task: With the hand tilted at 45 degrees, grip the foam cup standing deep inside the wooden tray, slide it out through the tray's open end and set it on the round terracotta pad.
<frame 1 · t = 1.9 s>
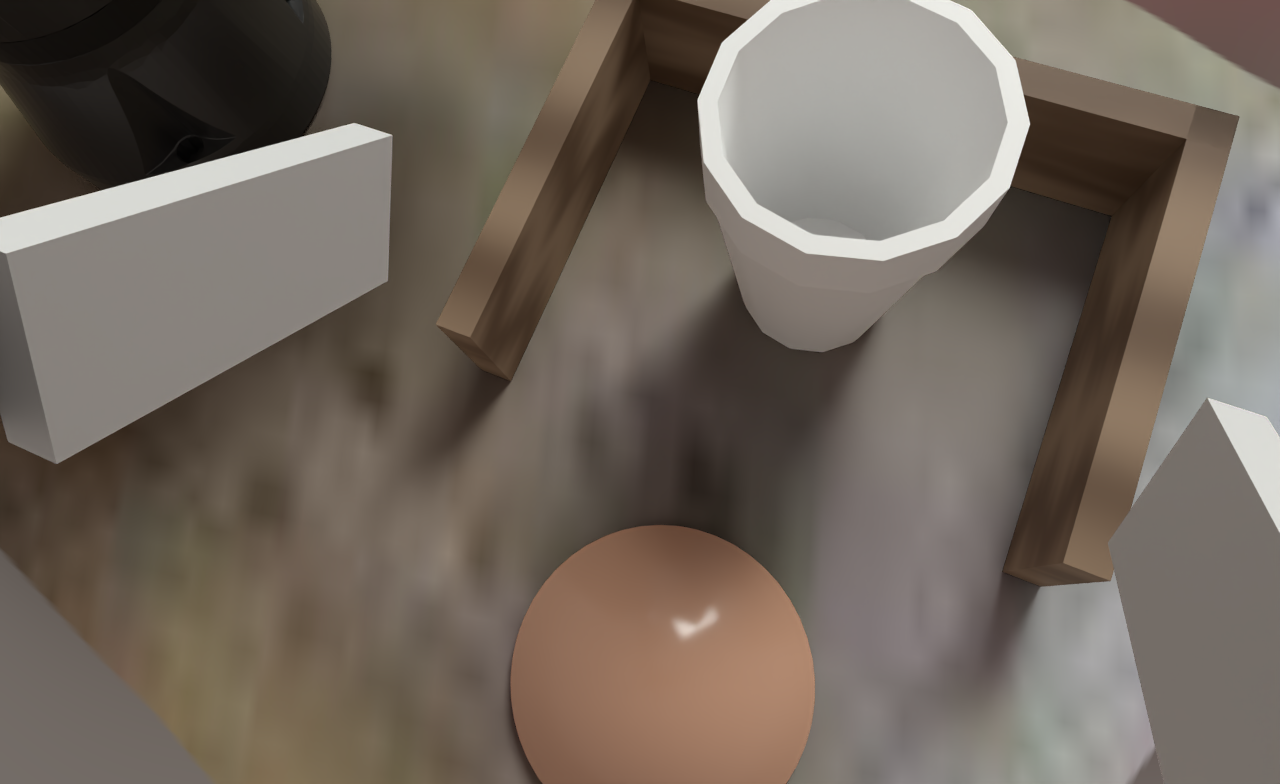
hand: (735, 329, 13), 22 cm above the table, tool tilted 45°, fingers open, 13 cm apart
foam cup: (812, 286, 36), on the table
wooden tray: (813, 284, 36), on the table
terracotta pad: (661, 677, 32), on the table
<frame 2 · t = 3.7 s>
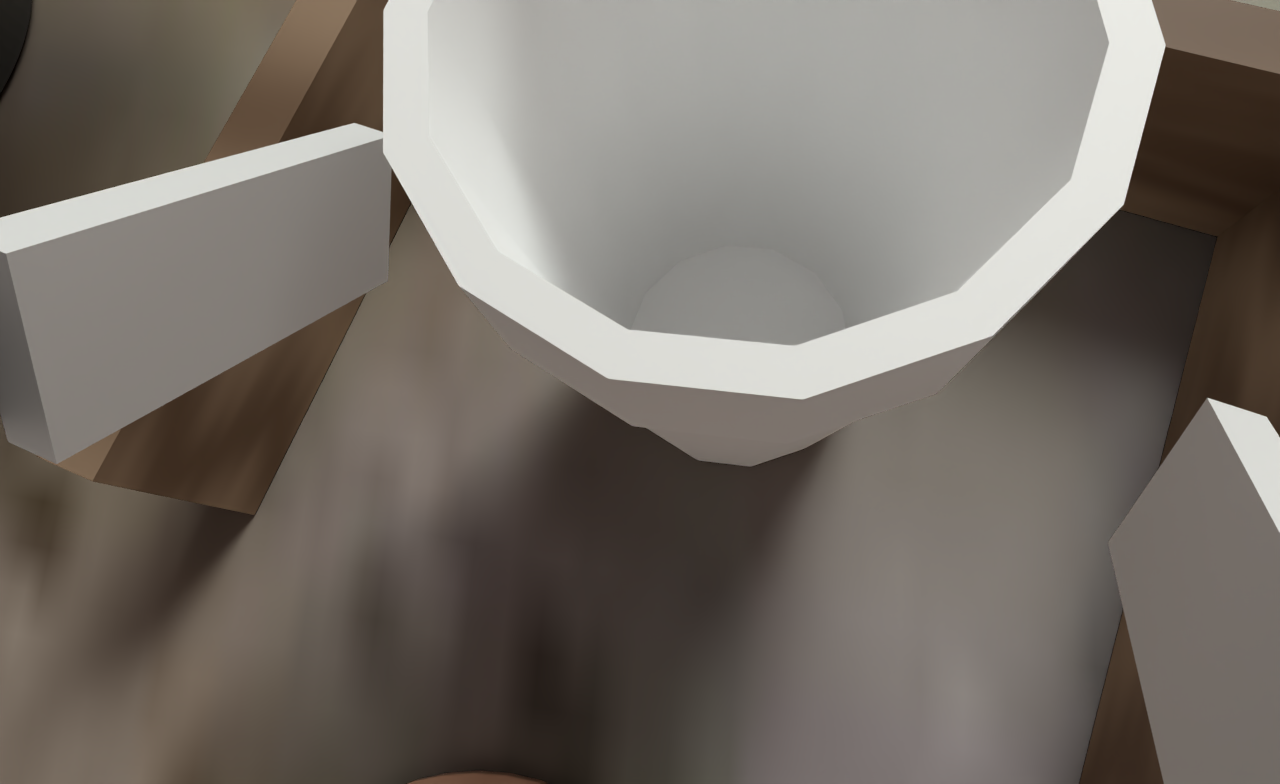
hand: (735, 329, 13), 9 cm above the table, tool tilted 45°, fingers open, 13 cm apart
foam cup: (736, 356, 22), on the table
wooden tray: (736, 353, 22), on the table
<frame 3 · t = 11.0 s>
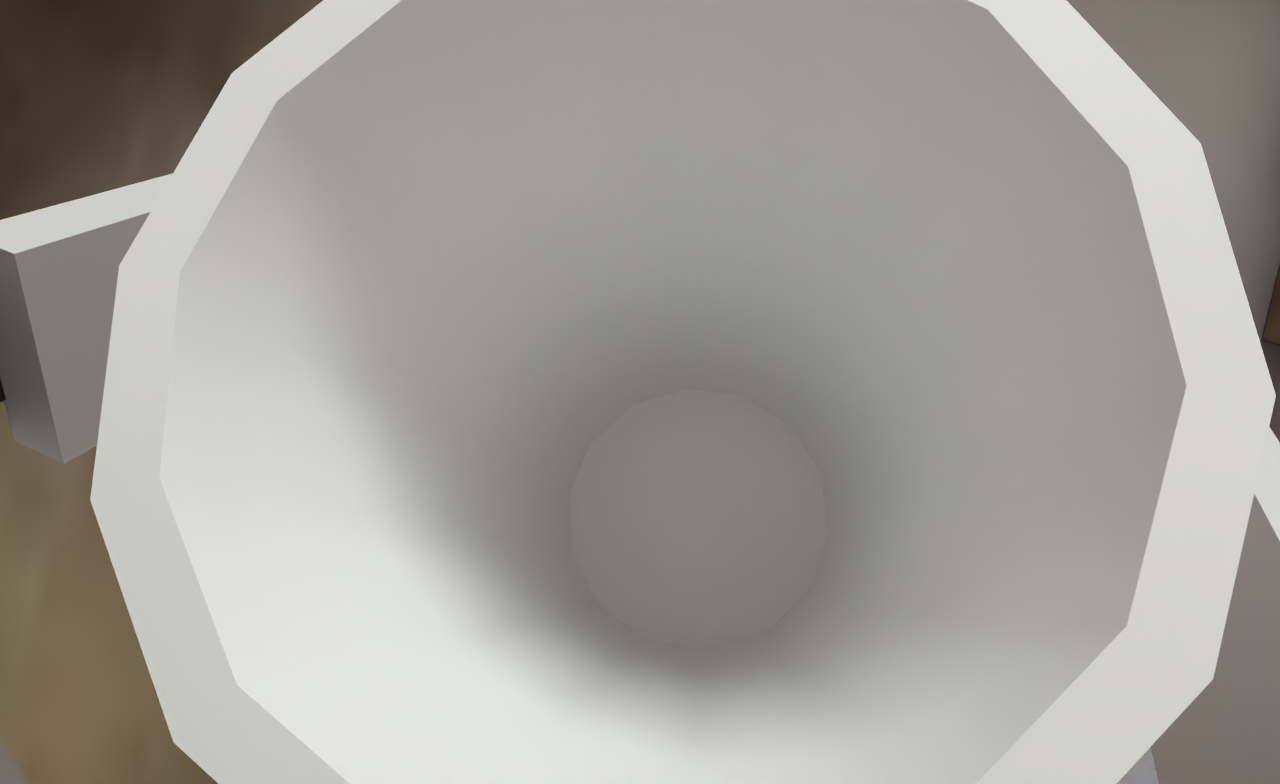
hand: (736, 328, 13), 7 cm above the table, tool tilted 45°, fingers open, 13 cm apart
foam cup: (697, 518, 19), on the table, touching terracotta pad
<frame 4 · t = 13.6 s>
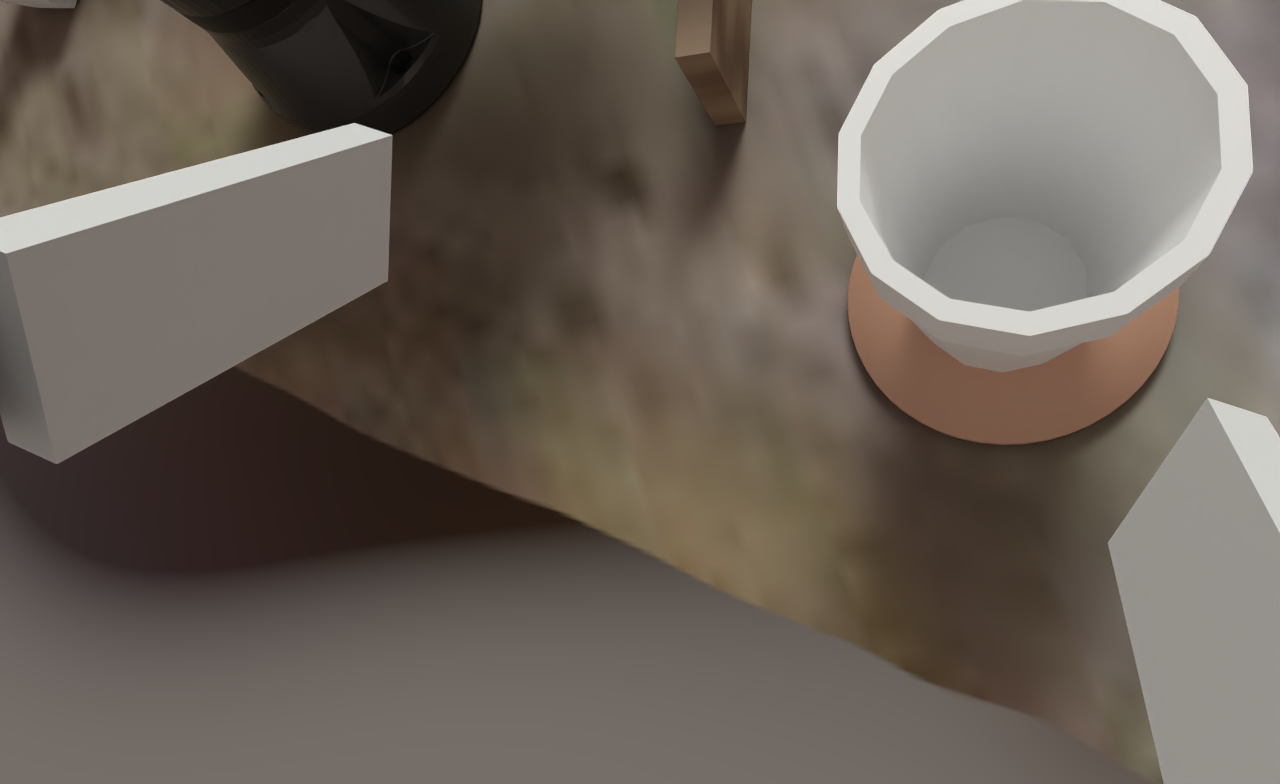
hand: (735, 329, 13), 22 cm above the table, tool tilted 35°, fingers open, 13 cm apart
foam cup: (1001, 295, 32), on the table, touching terracotta pad
terracotta pad: (1001, 297, 33), on the table
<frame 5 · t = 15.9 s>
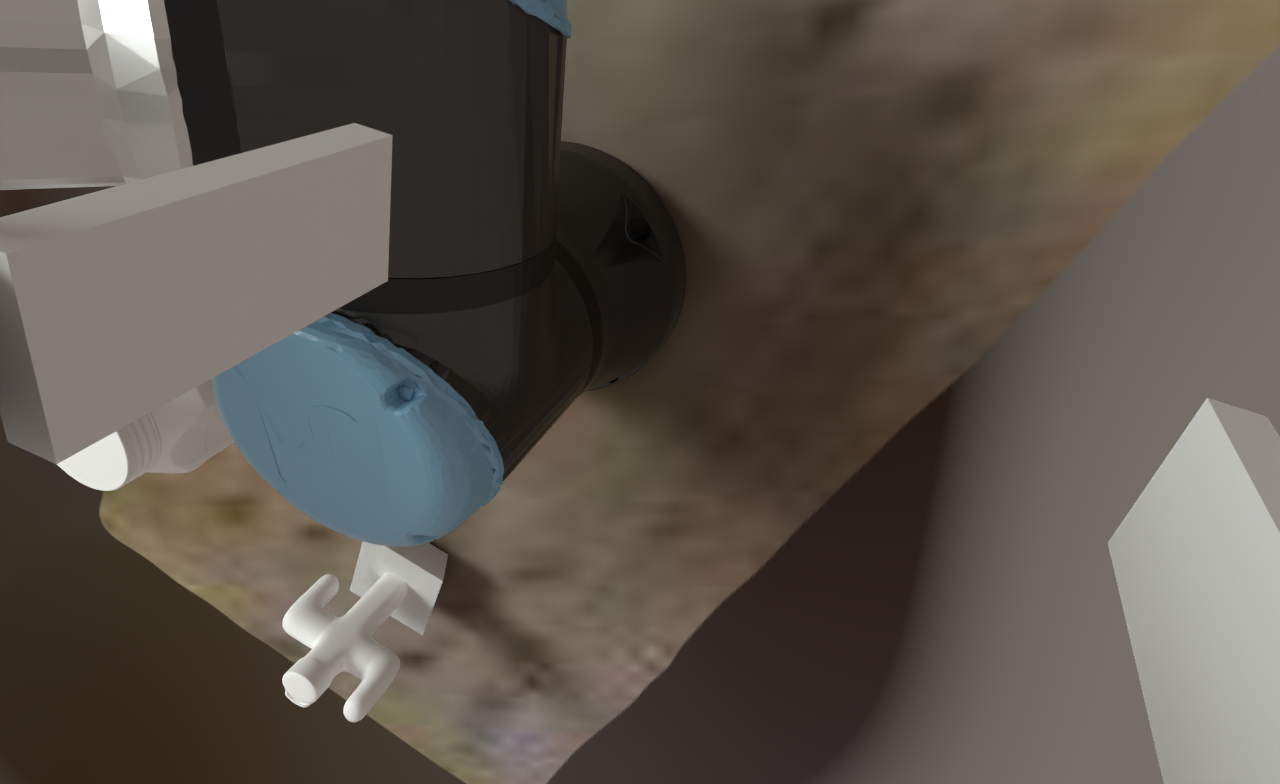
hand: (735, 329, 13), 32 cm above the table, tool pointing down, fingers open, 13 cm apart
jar: (254, 340, 63), on the table
figurine: (421, 556, 68), on the table
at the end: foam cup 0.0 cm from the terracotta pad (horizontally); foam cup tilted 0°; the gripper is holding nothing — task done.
